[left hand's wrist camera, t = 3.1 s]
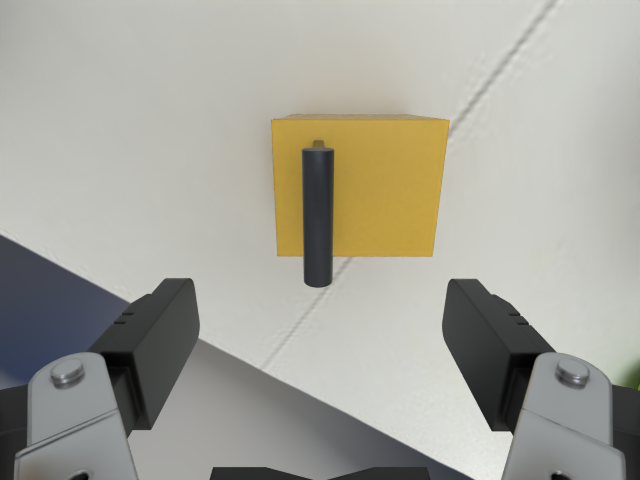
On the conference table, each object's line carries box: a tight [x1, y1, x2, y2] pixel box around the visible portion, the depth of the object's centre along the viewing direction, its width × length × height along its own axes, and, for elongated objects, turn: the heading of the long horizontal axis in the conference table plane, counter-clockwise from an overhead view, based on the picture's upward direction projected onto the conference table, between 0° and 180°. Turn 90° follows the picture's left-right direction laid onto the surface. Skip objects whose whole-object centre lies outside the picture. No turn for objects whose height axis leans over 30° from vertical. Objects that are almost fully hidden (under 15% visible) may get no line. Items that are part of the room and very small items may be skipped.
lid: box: [271, 119, 449, 288], centre depth 23 cm, size 12×10×8 cm
